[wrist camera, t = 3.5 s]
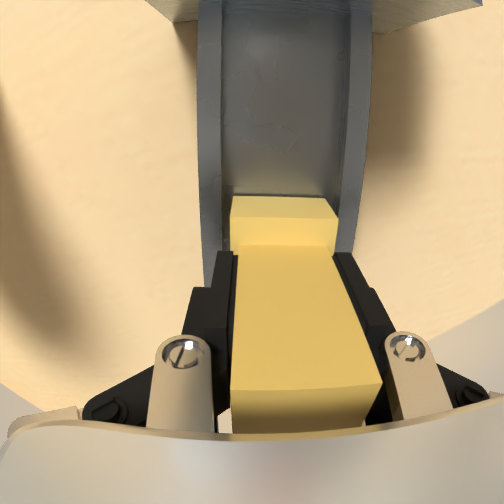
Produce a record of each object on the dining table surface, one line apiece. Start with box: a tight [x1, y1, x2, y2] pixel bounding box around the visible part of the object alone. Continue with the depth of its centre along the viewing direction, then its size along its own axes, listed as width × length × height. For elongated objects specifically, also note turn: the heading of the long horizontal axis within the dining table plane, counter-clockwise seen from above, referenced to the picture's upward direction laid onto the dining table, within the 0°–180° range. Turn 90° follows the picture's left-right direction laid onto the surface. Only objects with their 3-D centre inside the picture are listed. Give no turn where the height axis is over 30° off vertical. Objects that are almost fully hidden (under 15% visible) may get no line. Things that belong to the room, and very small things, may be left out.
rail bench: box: [145, 0, 483, 287], centre depth 9 cm, size 9×20×7 cm, turn 179°
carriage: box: [230, 196, 383, 434], centre depth 10 cm, size 4×5×8 cm
